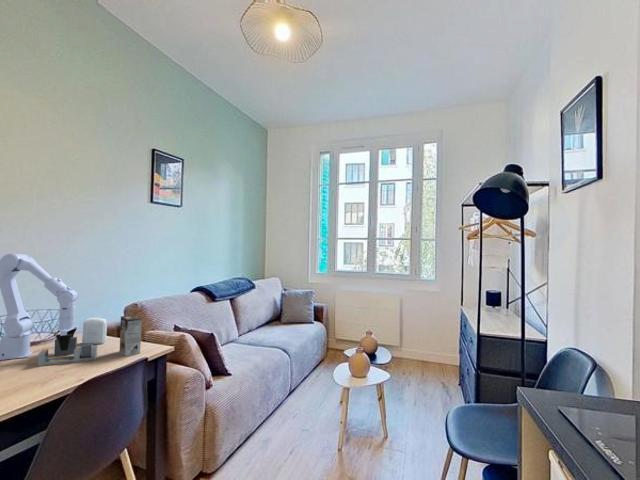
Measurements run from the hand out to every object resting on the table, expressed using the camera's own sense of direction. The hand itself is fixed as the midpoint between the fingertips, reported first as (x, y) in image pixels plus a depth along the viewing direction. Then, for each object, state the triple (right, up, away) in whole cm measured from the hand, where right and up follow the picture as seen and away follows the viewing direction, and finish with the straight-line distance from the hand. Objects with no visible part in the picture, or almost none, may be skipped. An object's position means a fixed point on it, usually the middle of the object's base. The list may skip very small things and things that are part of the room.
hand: (66, 347), depth 147 cm
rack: (+8, -3, -8) cm, 12 cm away
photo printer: (+1, -3, +17) cm, 17 cm away
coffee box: (+26, -4, +5) cm, 26 cm away
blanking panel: (0, -3, 0) cm, 3 cm away
